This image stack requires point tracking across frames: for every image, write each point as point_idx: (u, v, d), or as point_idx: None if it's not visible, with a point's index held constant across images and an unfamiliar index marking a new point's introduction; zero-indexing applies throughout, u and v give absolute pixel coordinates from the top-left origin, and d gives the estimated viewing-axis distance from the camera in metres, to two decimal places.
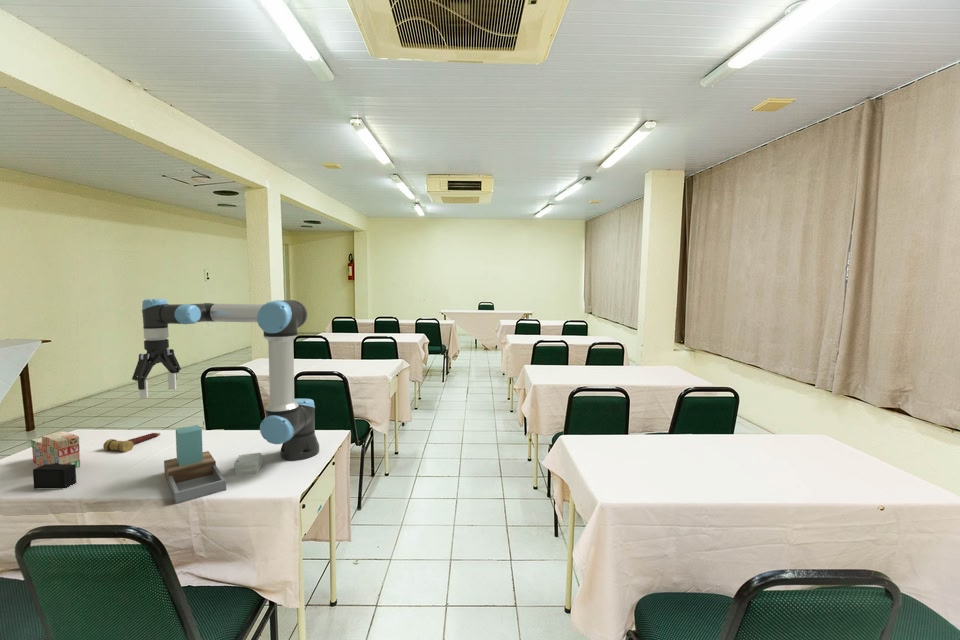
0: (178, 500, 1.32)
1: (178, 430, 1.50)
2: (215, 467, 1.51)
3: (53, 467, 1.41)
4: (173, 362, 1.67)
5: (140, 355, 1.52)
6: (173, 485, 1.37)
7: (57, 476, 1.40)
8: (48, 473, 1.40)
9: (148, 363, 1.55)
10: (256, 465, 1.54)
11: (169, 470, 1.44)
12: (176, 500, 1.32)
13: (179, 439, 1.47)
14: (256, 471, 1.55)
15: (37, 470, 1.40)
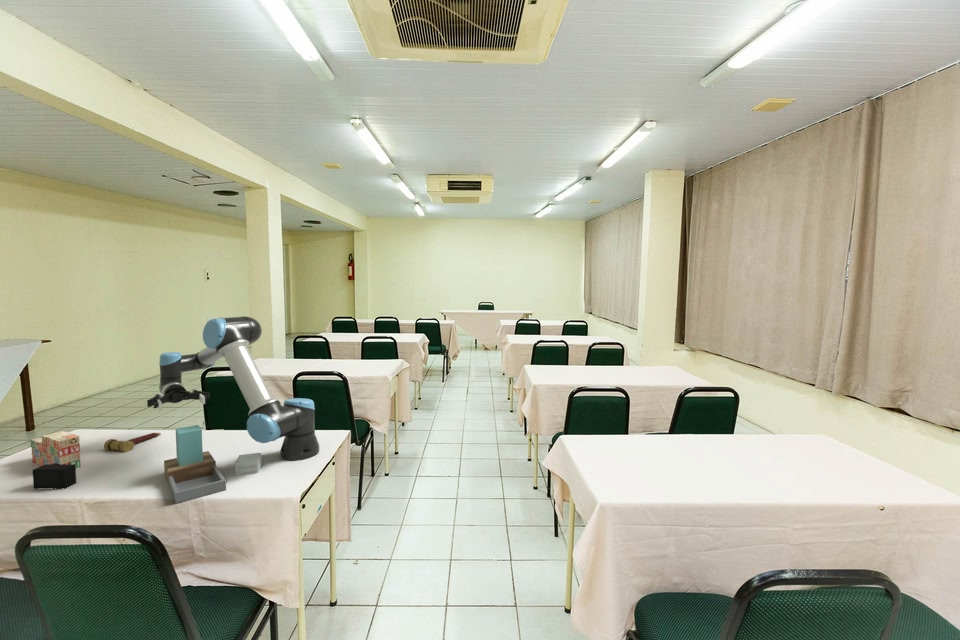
0: (178, 500, 1.32)
1: (178, 430, 1.50)
2: (215, 467, 1.51)
3: (53, 468, 1.41)
4: None
5: None
6: (173, 485, 1.37)
7: (57, 476, 1.40)
8: (48, 473, 1.40)
9: None
10: (256, 465, 1.54)
11: (169, 470, 1.44)
12: (176, 500, 1.32)
13: (179, 439, 1.47)
14: (256, 471, 1.55)
15: (37, 470, 1.40)
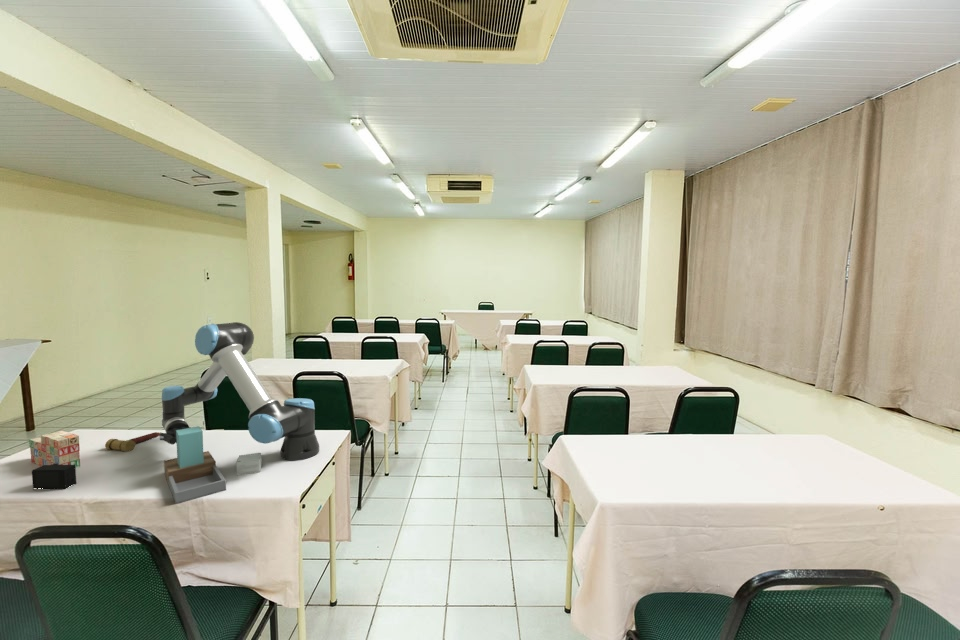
0: (178, 500, 1.32)
1: (179, 431, 1.49)
2: (215, 467, 1.51)
3: (52, 468, 1.40)
4: None
5: (160, 438, 1.60)
6: (173, 485, 1.37)
7: (57, 476, 1.40)
8: (48, 474, 1.39)
9: (174, 436, 1.61)
10: (258, 465, 1.55)
11: (169, 470, 1.44)
12: (176, 500, 1.32)
13: (180, 440, 1.46)
14: (258, 471, 1.55)
15: (36, 471, 1.39)
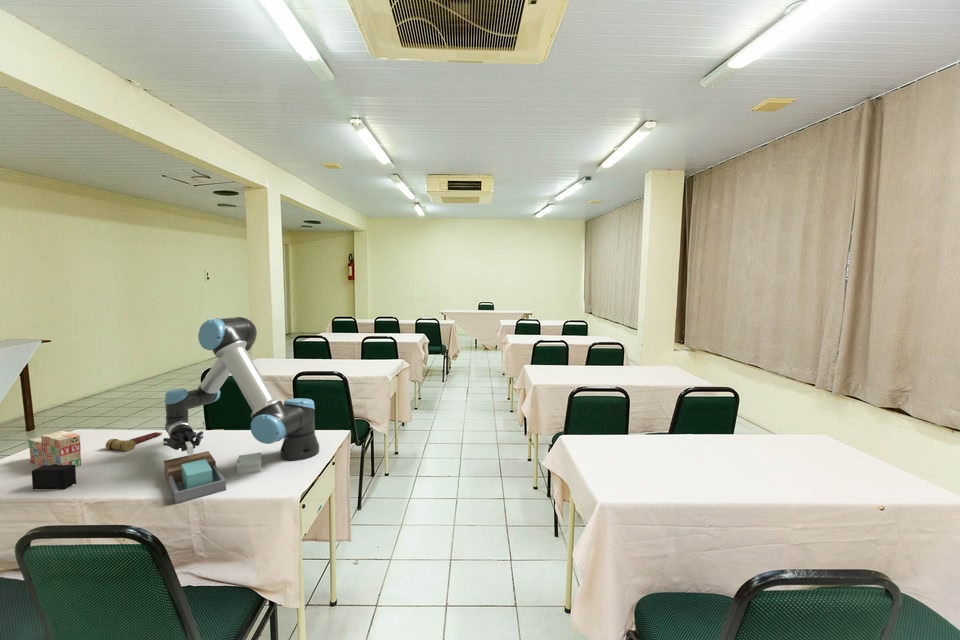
0: (178, 500, 1.32)
1: (189, 483, 1.36)
2: (215, 467, 1.51)
3: (52, 468, 1.40)
4: (196, 438, 1.58)
5: (164, 443, 1.55)
6: (173, 485, 1.37)
7: (57, 476, 1.40)
8: (48, 474, 1.39)
9: (178, 441, 1.56)
10: (258, 464, 1.55)
11: (169, 470, 1.44)
12: (176, 500, 1.32)
13: None
14: (258, 470, 1.55)
15: (36, 471, 1.39)
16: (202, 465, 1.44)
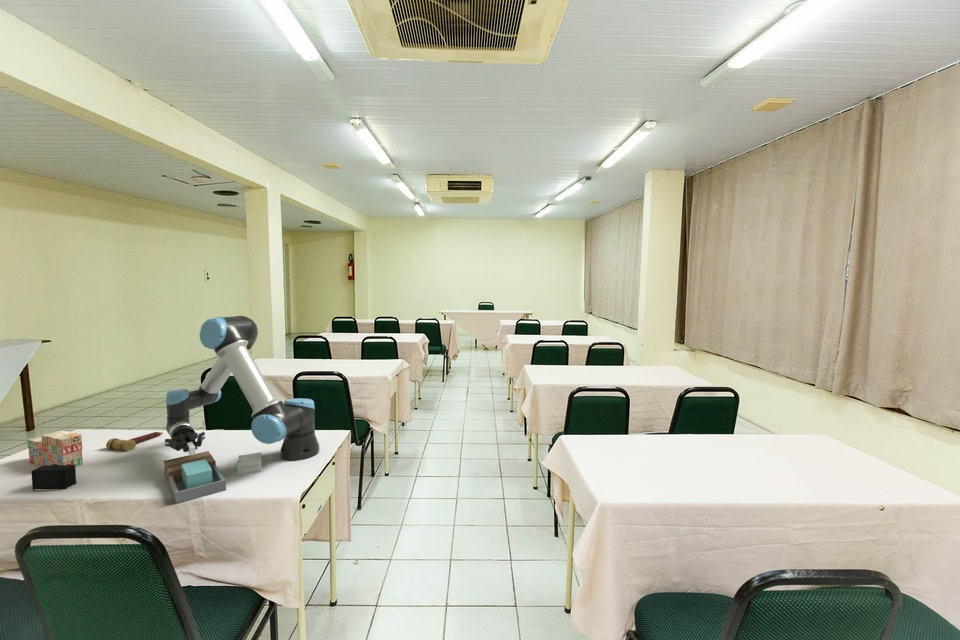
0: (178, 500, 1.32)
1: (189, 483, 1.36)
2: (215, 467, 1.51)
3: (52, 468, 1.40)
4: None
5: (165, 444, 1.54)
6: (173, 485, 1.37)
7: (57, 477, 1.39)
8: (48, 474, 1.39)
9: (180, 441, 1.55)
10: (259, 464, 1.55)
11: (169, 470, 1.44)
12: (176, 500, 1.32)
13: None
14: (259, 470, 1.55)
15: (36, 471, 1.39)
16: (202, 465, 1.44)
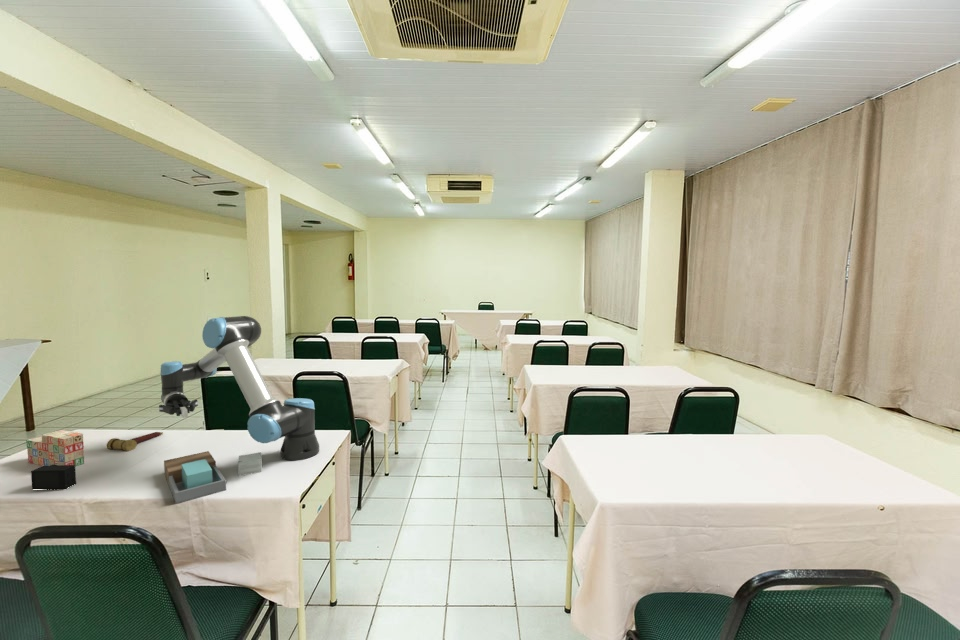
0: (178, 500, 1.32)
1: (189, 483, 1.36)
2: (215, 467, 1.51)
3: (52, 469, 1.40)
4: None
5: (159, 410, 1.62)
6: (173, 485, 1.37)
7: (57, 477, 1.39)
8: (47, 474, 1.39)
9: (174, 407, 1.63)
10: (260, 464, 1.55)
11: (169, 470, 1.44)
12: (176, 500, 1.32)
13: None
14: (260, 470, 1.55)
15: (36, 472, 1.39)
16: (202, 465, 1.44)
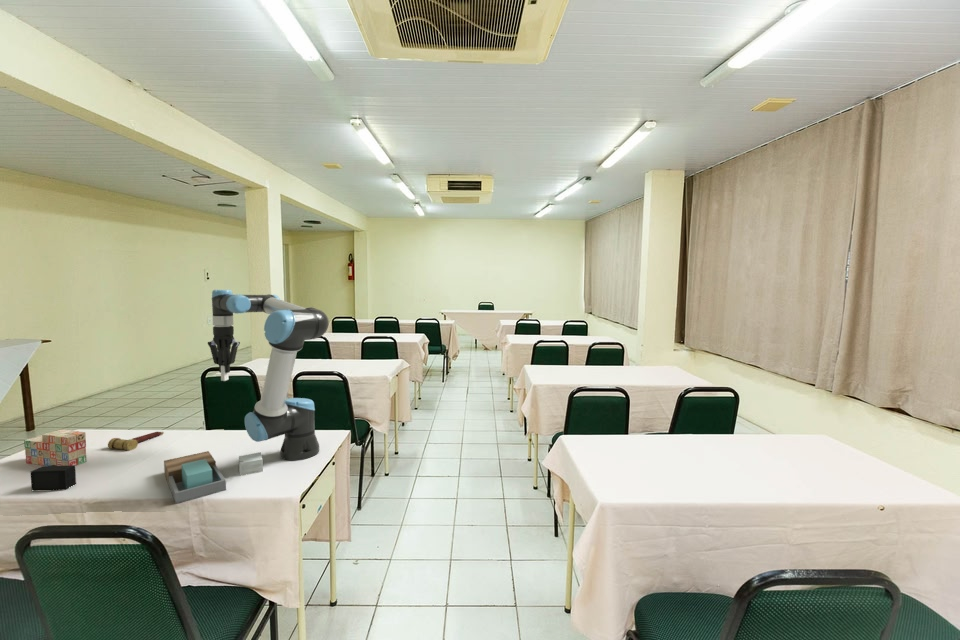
0: (178, 500, 1.32)
1: (189, 483, 1.36)
2: (215, 467, 1.51)
3: (52, 469, 1.40)
4: None
5: None
6: (173, 485, 1.37)
7: (57, 477, 1.39)
8: (47, 475, 1.39)
9: None
10: (261, 464, 1.55)
11: (169, 470, 1.44)
12: (176, 500, 1.32)
13: None
14: (261, 470, 1.56)
15: (35, 472, 1.38)
16: (202, 465, 1.44)
